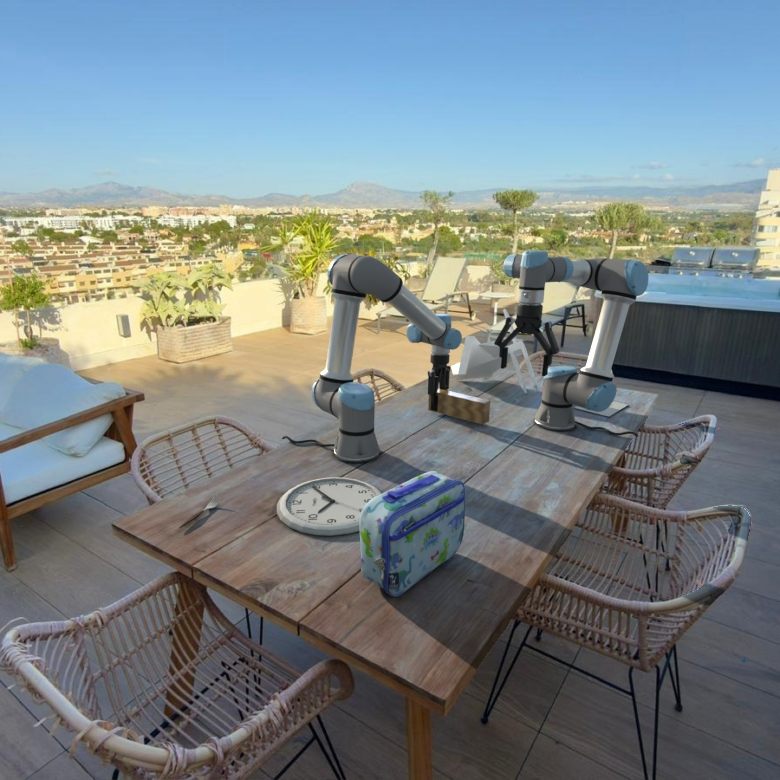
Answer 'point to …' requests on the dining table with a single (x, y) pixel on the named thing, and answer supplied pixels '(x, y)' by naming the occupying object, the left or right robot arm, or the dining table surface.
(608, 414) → the invitation card
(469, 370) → the white plastic object
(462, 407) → the bar
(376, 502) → the lunch box
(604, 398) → the right robot arm
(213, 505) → the fork
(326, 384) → the left robot arm
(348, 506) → the wall clock
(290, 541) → the dining table surface
